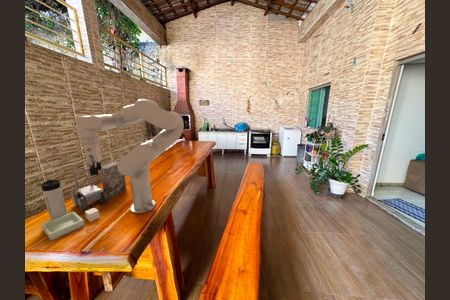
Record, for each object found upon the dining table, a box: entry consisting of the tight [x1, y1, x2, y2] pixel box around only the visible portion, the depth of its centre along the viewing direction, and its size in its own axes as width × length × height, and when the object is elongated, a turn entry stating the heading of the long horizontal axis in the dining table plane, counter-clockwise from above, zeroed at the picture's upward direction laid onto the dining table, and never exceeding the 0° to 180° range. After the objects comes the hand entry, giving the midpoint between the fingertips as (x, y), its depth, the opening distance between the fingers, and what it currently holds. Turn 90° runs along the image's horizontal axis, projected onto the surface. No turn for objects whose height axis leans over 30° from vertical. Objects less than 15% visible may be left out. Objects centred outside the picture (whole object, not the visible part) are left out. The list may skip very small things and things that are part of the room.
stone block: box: [98, 161, 127, 199], centre depth 109 cm, size 13×7×20 cm, turn 171°
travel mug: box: [40, 179, 68, 221], centre depth 83 cm, size 6×7×20 cm
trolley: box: [71, 167, 110, 213], centre depth 96 cm, size 17×12×20 cm
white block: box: [84, 207, 101, 222], centre depth 85 cm, size 5×4×4 cm
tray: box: [40, 211, 86, 242], centre depth 78 cm, size 13×12×3 cm
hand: (96, 172), depth 90 cm, fingers open, 9 cm apart
